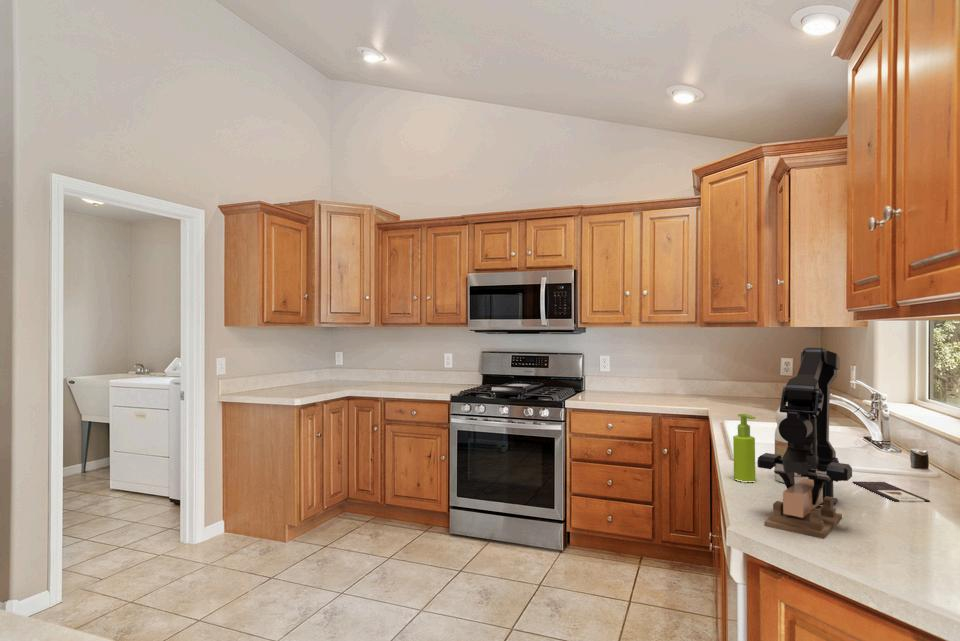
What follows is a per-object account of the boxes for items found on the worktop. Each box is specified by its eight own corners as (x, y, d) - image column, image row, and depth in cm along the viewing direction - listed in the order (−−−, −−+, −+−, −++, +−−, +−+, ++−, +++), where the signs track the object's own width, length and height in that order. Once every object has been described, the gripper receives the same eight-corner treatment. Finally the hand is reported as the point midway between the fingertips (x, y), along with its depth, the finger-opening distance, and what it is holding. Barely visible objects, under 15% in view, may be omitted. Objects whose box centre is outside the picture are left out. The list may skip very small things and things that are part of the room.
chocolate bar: (884, 482, 163) (929, 500, 145) (884, 485, 163) (930, 504, 145) (852, 481, 163) (893, 499, 145) (852, 484, 163) (894, 503, 145)
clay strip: (804, 498, 137) (804, 478, 138) (822, 501, 135) (822, 481, 135) (783, 513, 126) (783, 491, 126) (802, 517, 123) (802, 495, 123)
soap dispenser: (745, 484, 162) (744, 416, 162) (729, 478, 169) (728, 413, 169) (762, 483, 163) (761, 415, 164) (746, 477, 170) (745, 412, 171)
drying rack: (786, 507, 141) (786, 487, 141) (842, 518, 133) (841, 497, 133) (764, 525, 128) (764, 503, 128) (824, 538, 120) (823, 515, 120)
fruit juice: (770, 481, 165) (771, 387, 165) (778, 475, 172) (779, 385, 172) (806, 487, 158) (807, 390, 159) (813, 481, 166) (814, 387, 166)
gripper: (749, 436, 131) (750, 502, 131) (841, 447, 118) (842, 520, 118) (764, 430, 139) (765, 492, 139) (852, 439, 126) (853, 508, 126)
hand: (803, 502), depth 130 cm, fingers closed on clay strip, 4 cm apart
